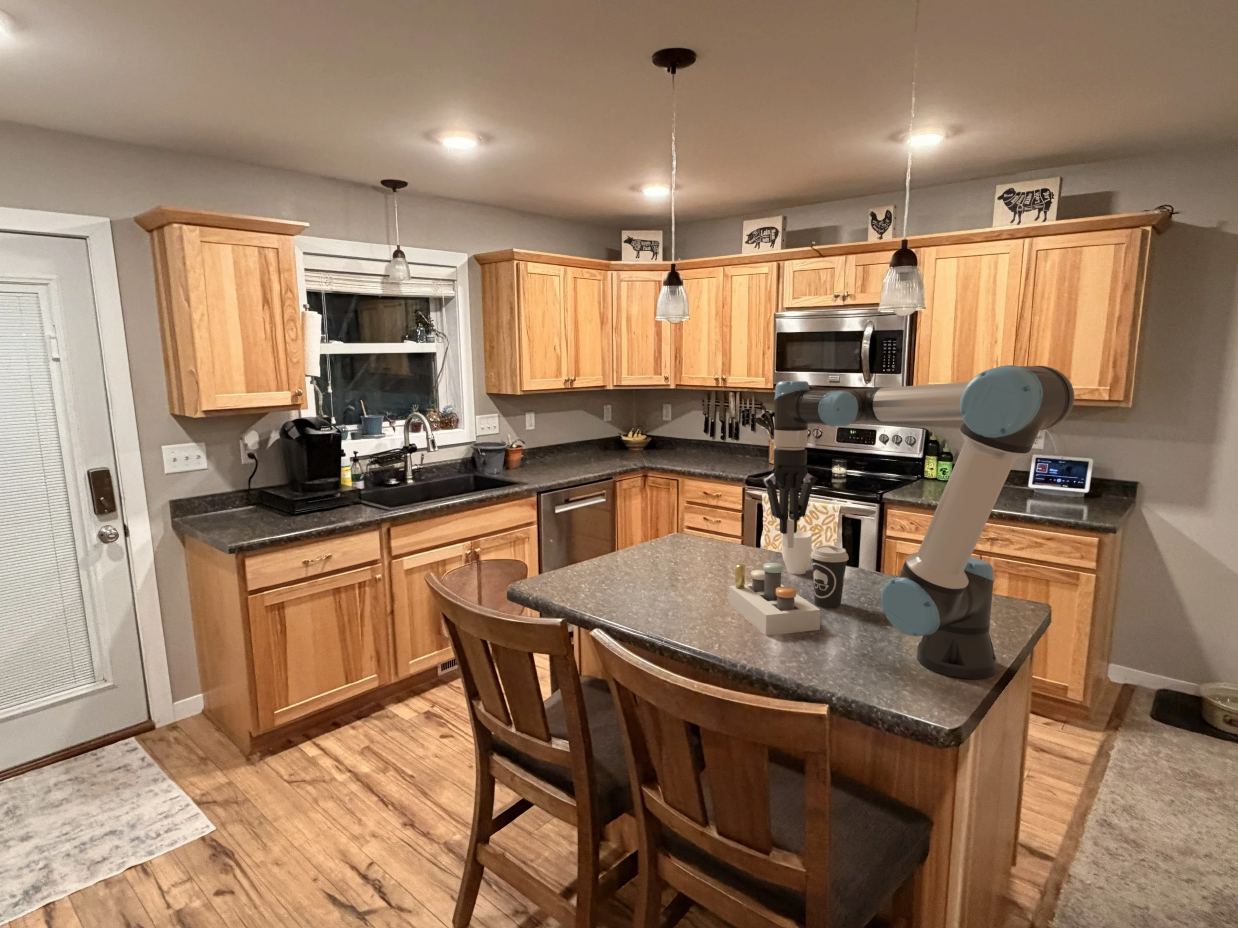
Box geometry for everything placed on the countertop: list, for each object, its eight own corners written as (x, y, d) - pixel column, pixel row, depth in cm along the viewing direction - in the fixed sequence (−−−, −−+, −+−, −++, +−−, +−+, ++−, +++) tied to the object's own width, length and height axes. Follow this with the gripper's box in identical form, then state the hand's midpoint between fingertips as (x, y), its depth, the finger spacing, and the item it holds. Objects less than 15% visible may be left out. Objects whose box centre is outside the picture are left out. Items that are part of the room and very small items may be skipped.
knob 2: (785, 603, 171) (786, 567, 170) (767, 605, 170) (768, 568, 169) (776, 596, 176) (777, 562, 175) (759, 598, 175) (760, 563, 174)
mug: (803, 578, 204) (803, 538, 202) (776, 573, 210) (776, 534, 208) (820, 568, 213) (820, 530, 211) (793, 564, 219) (793, 527, 217)
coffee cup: (848, 612, 176) (851, 555, 174) (809, 609, 178) (812, 553, 176) (844, 599, 186) (846, 545, 183) (807, 597, 187) (809, 543, 185)
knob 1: (772, 609, 179) (773, 574, 177) (755, 610, 178) (755, 576, 176) (763, 602, 183) (764, 569, 182) (747, 604, 182) (747, 570, 181)
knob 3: (798, 629, 165) (800, 592, 164) (780, 631, 164) (781, 593, 163) (789, 621, 170) (790, 585, 169) (771, 623, 169) (772, 587, 167)
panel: (819, 629, 165) (820, 609, 164) (765, 635, 162) (766, 615, 161) (777, 599, 186) (777, 581, 185) (728, 604, 183) (728, 585, 182)
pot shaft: (746, 588, 180) (746, 566, 179) (737, 589, 179) (738, 566, 178) (742, 585, 182) (742, 563, 181) (733, 586, 181) (734, 564, 180)
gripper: (807, 444, 166) (804, 540, 169) (757, 447, 163) (755, 544, 166) (824, 448, 159) (820, 548, 162) (772, 450, 155) (769, 552, 159)
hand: (787, 546), depth 164 cm, fingers closed
